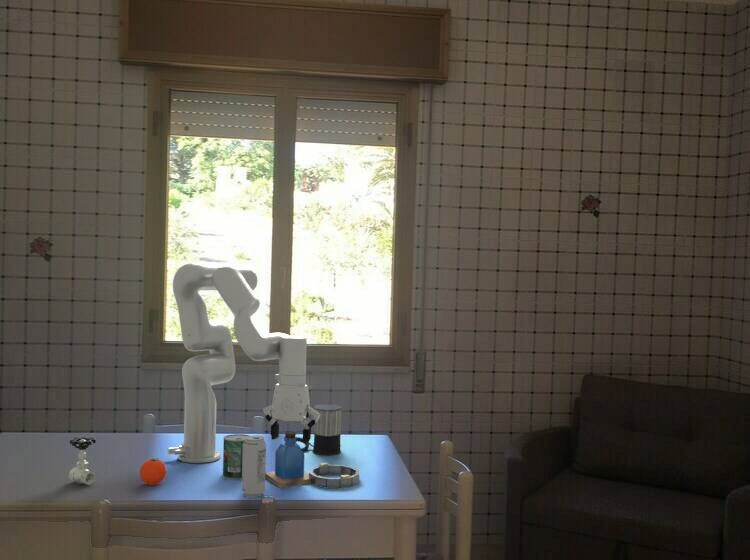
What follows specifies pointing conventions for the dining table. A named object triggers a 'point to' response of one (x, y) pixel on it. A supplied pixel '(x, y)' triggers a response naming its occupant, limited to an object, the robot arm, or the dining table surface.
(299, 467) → the perfume bottle
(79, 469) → the valve
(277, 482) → the pad
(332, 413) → the milk frother
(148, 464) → the clementine
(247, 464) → the energy drink can
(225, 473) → the canned tomato
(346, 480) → the collar
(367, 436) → the dining table surface
